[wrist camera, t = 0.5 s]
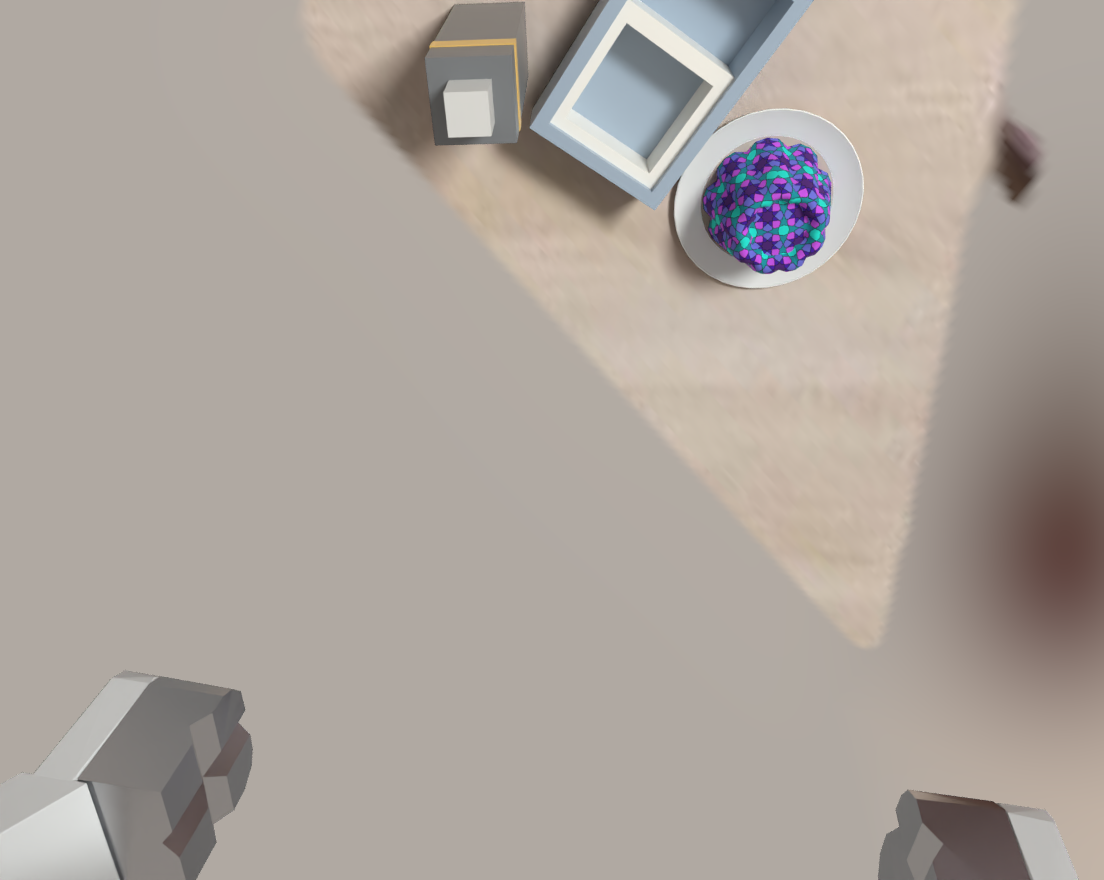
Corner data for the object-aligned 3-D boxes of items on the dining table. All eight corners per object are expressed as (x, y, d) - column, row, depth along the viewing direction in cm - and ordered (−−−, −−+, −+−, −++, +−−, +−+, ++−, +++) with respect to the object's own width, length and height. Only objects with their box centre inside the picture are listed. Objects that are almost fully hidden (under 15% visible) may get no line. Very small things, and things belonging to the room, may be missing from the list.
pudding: (868, 91, 51) (893, 118, 47) (853, 272, 59) (874, 309, 54) (667, 118, 53) (674, 147, 49) (677, 292, 60) (685, 330, 56)
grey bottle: (453, 3, 49) (416, 68, 38) (525, 1, 49) (509, 65, 38) (461, 79, 51) (428, 160, 40) (529, 76, 51) (515, 158, 40)
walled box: (673, -121, 45) (679, -114, 42) (802, -16, 48) (816, -3, 45) (532, 109, 52) (529, 128, 49) (650, 188, 55) (654, 210, 52)
